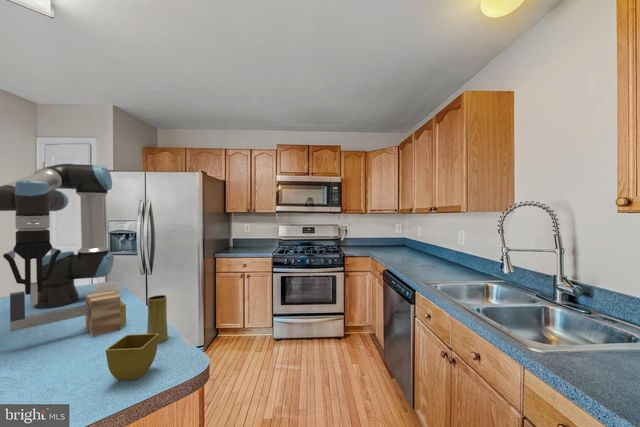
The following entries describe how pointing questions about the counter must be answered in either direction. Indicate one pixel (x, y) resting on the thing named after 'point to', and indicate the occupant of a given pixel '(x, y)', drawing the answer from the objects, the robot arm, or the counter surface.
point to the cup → (108, 287)
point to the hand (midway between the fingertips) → (33, 303)
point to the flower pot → (132, 356)
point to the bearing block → (103, 312)
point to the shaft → (23, 322)
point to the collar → (123, 313)
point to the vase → (157, 317)
